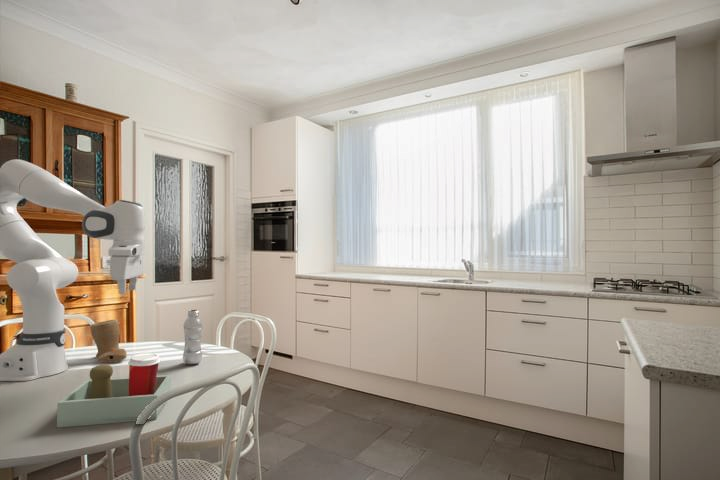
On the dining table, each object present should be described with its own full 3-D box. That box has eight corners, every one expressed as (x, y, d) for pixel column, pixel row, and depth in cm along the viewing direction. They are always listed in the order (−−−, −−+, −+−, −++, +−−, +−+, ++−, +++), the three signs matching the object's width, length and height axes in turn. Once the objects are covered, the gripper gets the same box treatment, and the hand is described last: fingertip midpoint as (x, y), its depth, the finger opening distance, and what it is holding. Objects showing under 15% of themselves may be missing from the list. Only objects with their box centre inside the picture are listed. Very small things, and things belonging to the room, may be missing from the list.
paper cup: (146, 399, 110) (151, 351, 110) (161, 407, 106) (166, 357, 106) (117, 408, 104) (122, 356, 104) (132, 417, 99) (137, 363, 100)
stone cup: (90, 356, 151) (91, 318, 151) (125, 352, 157) (126, 316, 158) (88, 367, 138) (89, 325, 138) (126, 362, 145) (128, 322, 145)
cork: (100, 413, 99) (101, 370, 99) (80, 410, 100) (82, 368, 100) (119, 403, 105) (120, 363, 105) (100, 401, 106) (101, 361, 106)
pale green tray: (56, 427, 93) (57, 402, 93) (85, 401, 108) (86, 380, 109) (156, 419, 98) (157, 395, 99) (170, 395, 114) (171, 375, 114)
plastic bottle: (197, 366, 141) (198, 312, 141) (179, 366, 141) (180, 311, 141) (204, 361, 147) (206, 309, 148) (187, 360, 148) (188, 309, 148)
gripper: (128, 249, 135) (127, 288, 135) (106, 250, 115) (104, 296, 115) (148, 249, 137) (147, 288, 136) (129, 250, 117) (128, 295, 117)
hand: (127, 291), depth 126 cm, fingers open, 8 cm apart
